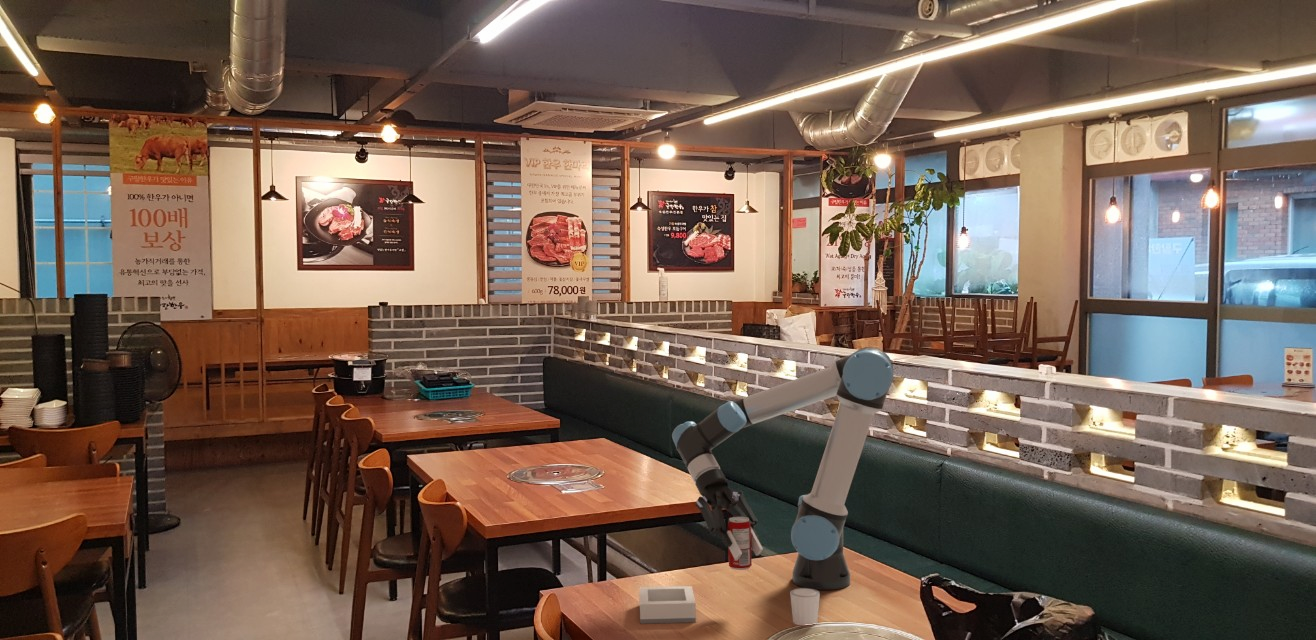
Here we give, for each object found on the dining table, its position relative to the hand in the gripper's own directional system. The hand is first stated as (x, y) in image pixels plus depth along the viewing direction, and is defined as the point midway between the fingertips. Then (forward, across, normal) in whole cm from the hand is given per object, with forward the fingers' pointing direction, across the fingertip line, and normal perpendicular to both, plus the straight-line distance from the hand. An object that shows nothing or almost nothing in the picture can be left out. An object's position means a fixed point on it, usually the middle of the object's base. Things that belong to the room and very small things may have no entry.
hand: (749, 554), depth 229 cm
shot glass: (+18, -8, -3) cm, 20 cm away
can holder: (+2, +16, -18) cm, 25 cm away
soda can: (0, 0, -6) cm, 6 cm away
